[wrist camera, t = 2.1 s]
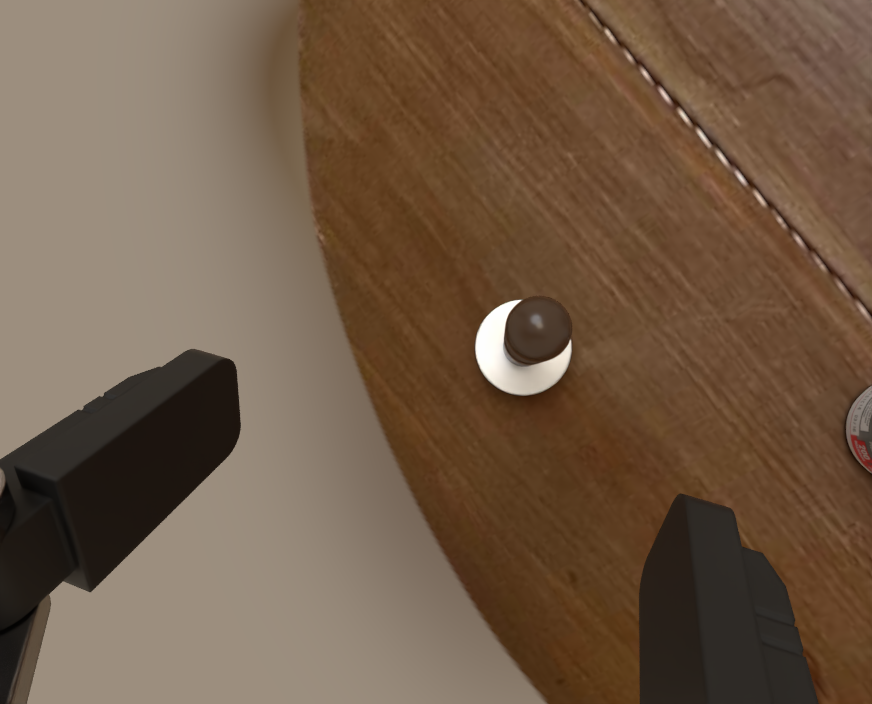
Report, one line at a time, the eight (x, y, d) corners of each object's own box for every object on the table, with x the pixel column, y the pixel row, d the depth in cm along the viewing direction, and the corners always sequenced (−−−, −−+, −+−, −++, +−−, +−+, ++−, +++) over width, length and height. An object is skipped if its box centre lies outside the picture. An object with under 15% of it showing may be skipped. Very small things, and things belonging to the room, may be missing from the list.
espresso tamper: (457, 354, 27) (420, 336, 14) (516, 284, 27) (530, 206, 14) (527, 413, 26) (551, 448, 14) (587, 343, 26) (666, 315, 14)
